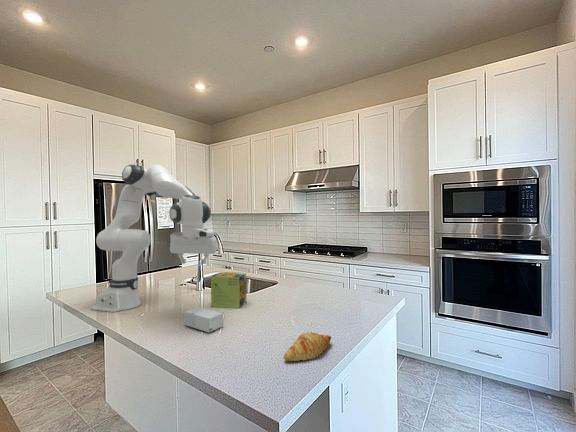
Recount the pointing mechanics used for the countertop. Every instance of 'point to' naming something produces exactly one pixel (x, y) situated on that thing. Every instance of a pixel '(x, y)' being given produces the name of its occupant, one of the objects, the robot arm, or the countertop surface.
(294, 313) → the countertop surface
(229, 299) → the protein box
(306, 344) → the croissant
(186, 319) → the skincare box
